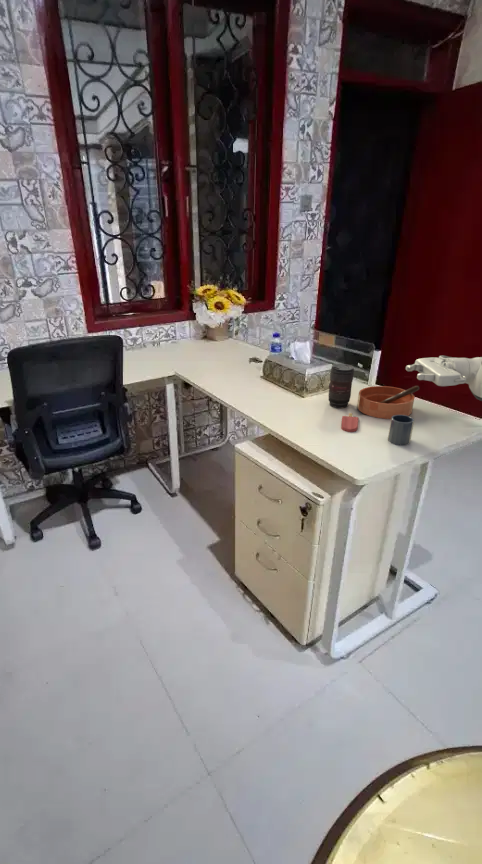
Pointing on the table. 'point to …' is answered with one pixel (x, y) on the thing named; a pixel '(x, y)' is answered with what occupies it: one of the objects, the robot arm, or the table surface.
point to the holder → (400, 429)
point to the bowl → (376, 394)
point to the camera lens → (340, 385)
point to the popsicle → (349, 423)
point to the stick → (400, 395)
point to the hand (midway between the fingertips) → (412, 372)
